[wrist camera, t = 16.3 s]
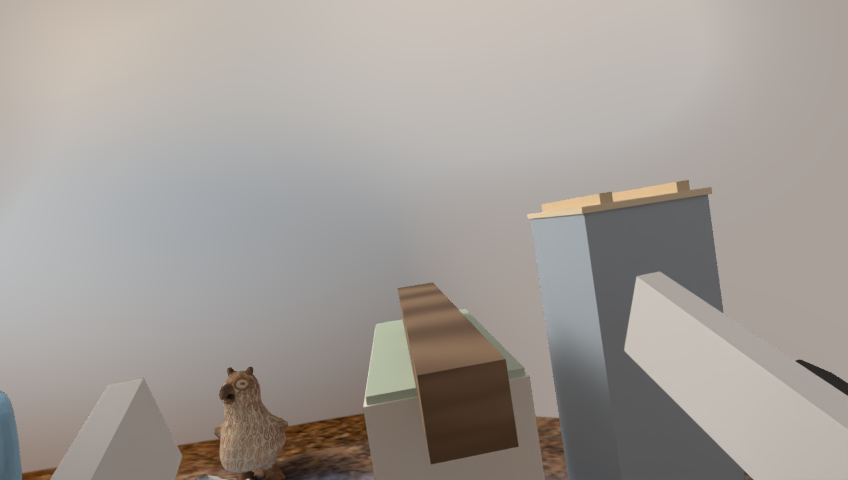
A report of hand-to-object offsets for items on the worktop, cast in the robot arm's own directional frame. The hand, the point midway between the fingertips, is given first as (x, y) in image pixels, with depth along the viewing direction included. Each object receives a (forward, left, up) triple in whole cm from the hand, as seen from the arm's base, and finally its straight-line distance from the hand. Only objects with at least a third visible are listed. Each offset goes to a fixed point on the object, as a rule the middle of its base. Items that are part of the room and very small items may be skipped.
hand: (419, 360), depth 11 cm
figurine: (-46, +16, -25) cm, 55 cm away
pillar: (-4, +32, -25) cm, 41 cm away
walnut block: (-12, +14, -6) cm, 19 cm away
